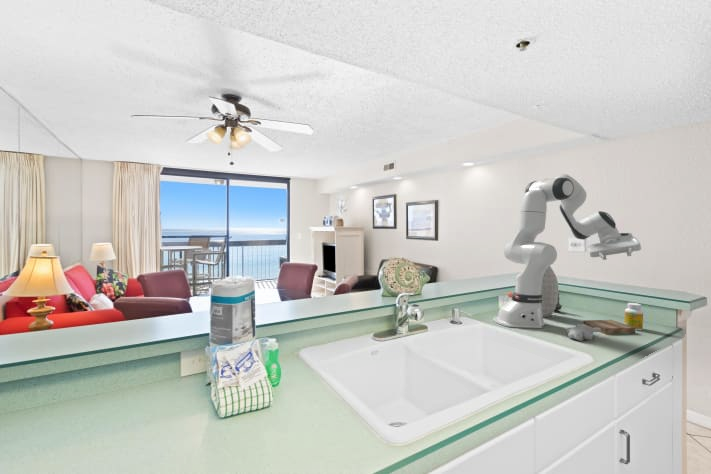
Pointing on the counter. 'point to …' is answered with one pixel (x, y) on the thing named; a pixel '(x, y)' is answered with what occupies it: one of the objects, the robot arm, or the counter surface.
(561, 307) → the salt shaker
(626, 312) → the supplement bottle
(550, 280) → the vase
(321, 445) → the counter surface
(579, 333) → the bunny figurine
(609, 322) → the walnut base
